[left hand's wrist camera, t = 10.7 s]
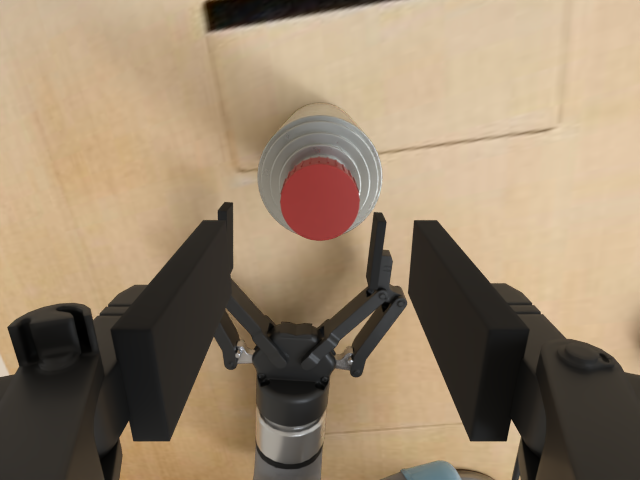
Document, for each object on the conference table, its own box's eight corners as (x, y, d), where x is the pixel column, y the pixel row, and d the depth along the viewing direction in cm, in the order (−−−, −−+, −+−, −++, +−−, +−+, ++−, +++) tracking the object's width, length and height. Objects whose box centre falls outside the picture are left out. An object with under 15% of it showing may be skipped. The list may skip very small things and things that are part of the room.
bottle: (283, 99, 40) (245, 115, 19) (363, 106, 40) (408, 130, 20) (278, 178, 42) (241, 265, 22) (354, 185, 43) (384, 276, 22)
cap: (285, 152, 22) (281, 159, 20) (361, 159, 22) (365, 166, 20) (280, 225, 23) (277, 238, 21) (352, 231, 23) (355, 244, 21)
